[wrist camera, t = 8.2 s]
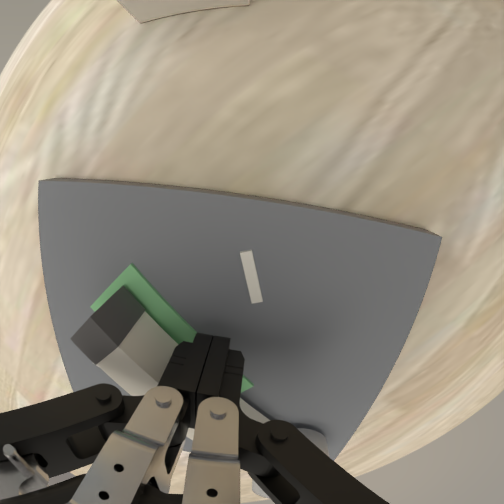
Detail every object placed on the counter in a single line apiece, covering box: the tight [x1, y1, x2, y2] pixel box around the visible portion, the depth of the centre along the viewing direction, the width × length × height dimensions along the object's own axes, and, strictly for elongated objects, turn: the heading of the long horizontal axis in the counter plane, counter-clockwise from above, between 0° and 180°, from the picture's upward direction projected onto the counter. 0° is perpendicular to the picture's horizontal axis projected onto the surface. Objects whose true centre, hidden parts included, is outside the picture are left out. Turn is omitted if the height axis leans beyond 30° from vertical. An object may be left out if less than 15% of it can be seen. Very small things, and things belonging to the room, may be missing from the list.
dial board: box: [38, 178, 442, 461], centre depth 14 cm, size 21×19×2 cm
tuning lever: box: [70, 285, 329, 498], centre depth 12 cm, size 18×5×4 cm, turn 39°
